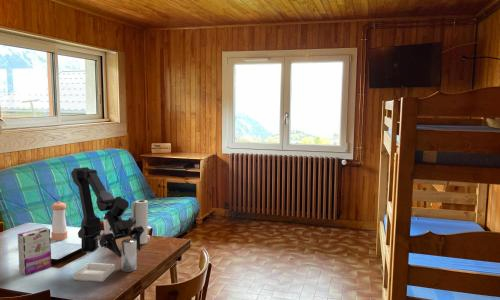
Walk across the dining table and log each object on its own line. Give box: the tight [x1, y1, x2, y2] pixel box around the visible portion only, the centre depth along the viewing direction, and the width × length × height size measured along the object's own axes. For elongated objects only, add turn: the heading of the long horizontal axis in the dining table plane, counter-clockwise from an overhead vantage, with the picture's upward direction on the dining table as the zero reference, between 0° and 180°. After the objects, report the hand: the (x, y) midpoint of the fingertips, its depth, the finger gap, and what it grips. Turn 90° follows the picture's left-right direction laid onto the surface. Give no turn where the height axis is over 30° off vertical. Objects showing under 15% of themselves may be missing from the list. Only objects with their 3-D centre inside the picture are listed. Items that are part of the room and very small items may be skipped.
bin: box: [73, 262, 116, 283], centre depth 160 cm, size 12×12×2 cm
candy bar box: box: [17, 226, 52, 276], centre depth 162 cm, size 11×5×16 cm, turn 148°
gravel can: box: [121, 238, 138, 273], centre depth 166 cm, size 6×6×12 cm
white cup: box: [102, 214, 114, 235], centre depth 211 cm, size 8×8×10 cm
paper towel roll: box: [130, 199, 149, 245], centre depth 198 cm, size 7×6×21 cm
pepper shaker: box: [50, 201, 68, 241], centre depth 201 cm, size 7×7×19 cm
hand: (130, 253), depth 166 cm, fingers open, 9 cm apart
